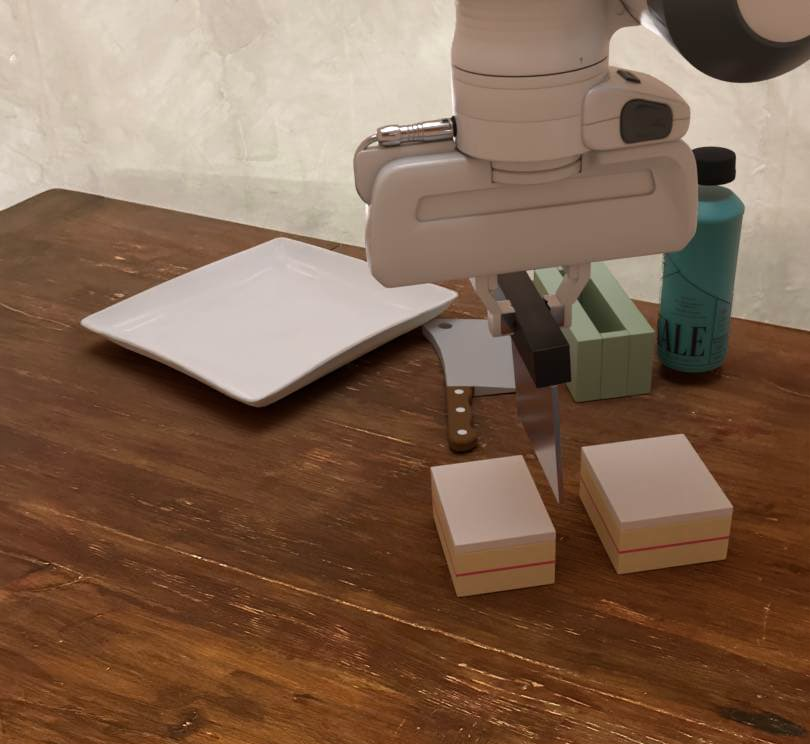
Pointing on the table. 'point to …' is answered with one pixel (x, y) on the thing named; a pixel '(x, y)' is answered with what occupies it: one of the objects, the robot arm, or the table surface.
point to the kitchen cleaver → (469, 370)
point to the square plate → (268, 318)
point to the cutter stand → (604, 337)
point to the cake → (654, 504)
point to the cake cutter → (537, 371)
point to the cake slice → (492, 526)
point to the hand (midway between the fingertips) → (529, 328)
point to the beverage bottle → (703, 272)
